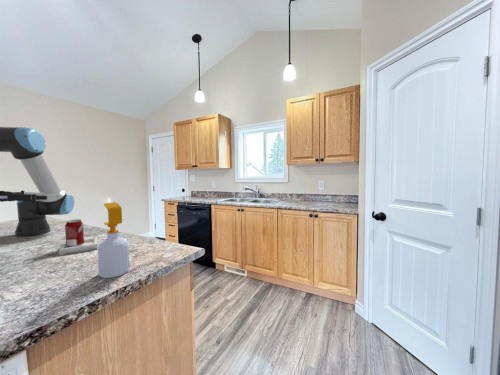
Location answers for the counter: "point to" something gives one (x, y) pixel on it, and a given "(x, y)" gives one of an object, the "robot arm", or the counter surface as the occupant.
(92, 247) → the square tray
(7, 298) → the counter surface
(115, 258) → the soap bottle
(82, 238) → the soda can
